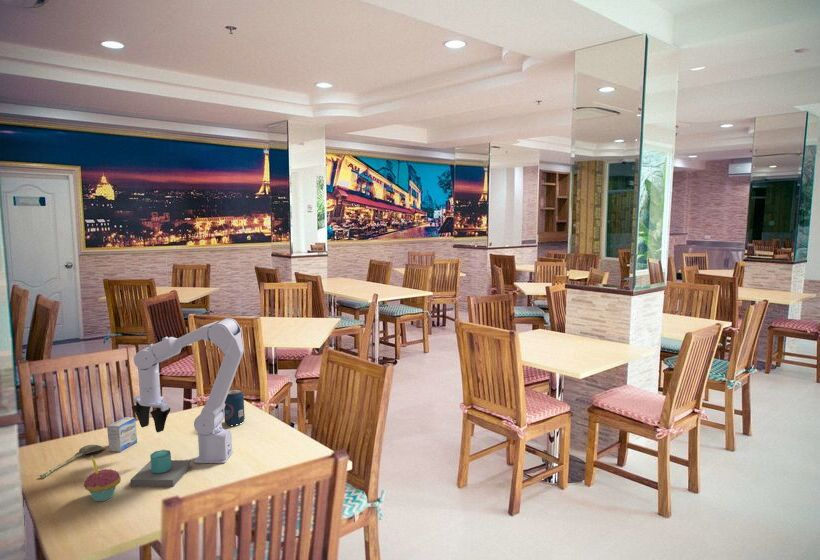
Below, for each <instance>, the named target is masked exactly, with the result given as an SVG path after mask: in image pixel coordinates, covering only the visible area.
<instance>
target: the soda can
mask: <svg viewBox="0 0 820 560" xmlns="http://www.w3.org/2000/svg"><path fill="white" fill-rule="evenodd" d="M224 413H225V416H224V422H225V425H227V424H228V425H236V424H240V423H242V422H243V423H244V421H245V418H246V417H245V396H244V393H243V391H242V389H240V388H230V390H229V392H228V395H227V397H226V400H225V408H224ZM243 423H242V424H243ZM228 425H227V426H228Z"/></svg>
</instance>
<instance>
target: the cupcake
mask: <svg viewBox="0 0 820 560" xmlns="http://www.w3.org/2000/svg"><path fill="white" fill-rule="evenodd" d="M91 463H92V465H93V469H94V472H93V473H90V474H89V475H88V476H87V478H85V480H84V481H83V487H84V488H85V490H86V491H88V492H89V494H90V496H91V497H92V499H93V501H94V502H103V501H107V500H109V499H111V498H112V497H113V496H114V493H115V490H116V487H117V486H118V485H119V484H120V483H121V480H122V478H121V475H120V473H119V471H117V470H115V469H111V468H110V469H108V468H107V469H106V468H105V469H101V470H99V469H98V466H97V463H96V458H95V457H94V456H93V455H91Z"/></svg>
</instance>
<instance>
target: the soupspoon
mask: <svg viewBox="0 0 820 560" xmlns="http://www.w3.org/2000/svg"><path fill="white" fill-rule="evenodd" d="M105 449H106V448H105V447H103V446H102V445H98V444H88V445H84V446H83V447H81V448H80V449H79V450H78V454H76V455H74V456H72V457H71V458H69V459H67V460H65V461H63V462H62V463H60V464H58V465H57V466H55V467H53V468H52V469H50V470H49V471H46V472H45V473H42V474H39V478H40V477H41V478H40V479H44V478H45V479H46V477H47V476H49V475H50V474H52V473H53V472H54V471H55V470H57V469H58V468H60V467H62V466H64V465H66V464H67V463H69V462H71V461H72V460H74V459H77V458H79V457H81V456H83V455H87V454H90V453H96V452H99V451H102V450H105Z"/></svg>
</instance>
